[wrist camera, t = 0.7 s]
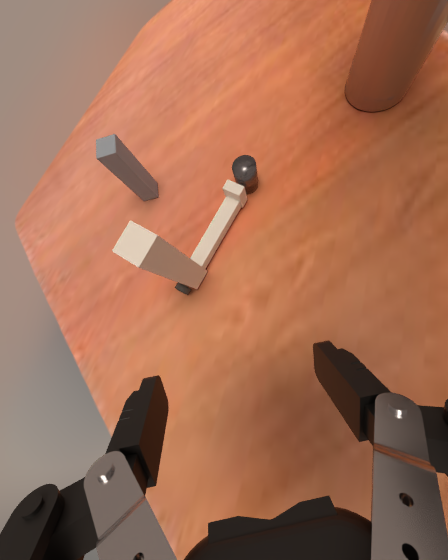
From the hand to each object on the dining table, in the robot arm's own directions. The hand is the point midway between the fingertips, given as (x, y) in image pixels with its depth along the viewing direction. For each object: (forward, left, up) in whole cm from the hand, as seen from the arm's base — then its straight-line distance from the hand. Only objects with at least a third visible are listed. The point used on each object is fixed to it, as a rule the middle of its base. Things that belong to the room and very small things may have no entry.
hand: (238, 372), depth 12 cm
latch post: (-22, -25, -24) cm, 41 cm away
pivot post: (-25, -6, -24) cm, 35 cm away
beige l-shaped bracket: (-13, -11, -24) cm, 29 cm away
